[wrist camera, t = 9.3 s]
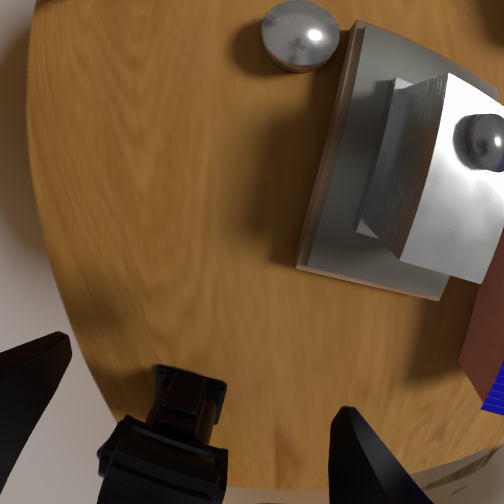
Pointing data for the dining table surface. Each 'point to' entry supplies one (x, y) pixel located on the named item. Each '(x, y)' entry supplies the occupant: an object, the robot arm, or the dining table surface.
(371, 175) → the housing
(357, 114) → the stand
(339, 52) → the dining table surface
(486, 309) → the house
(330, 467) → the robot arm
